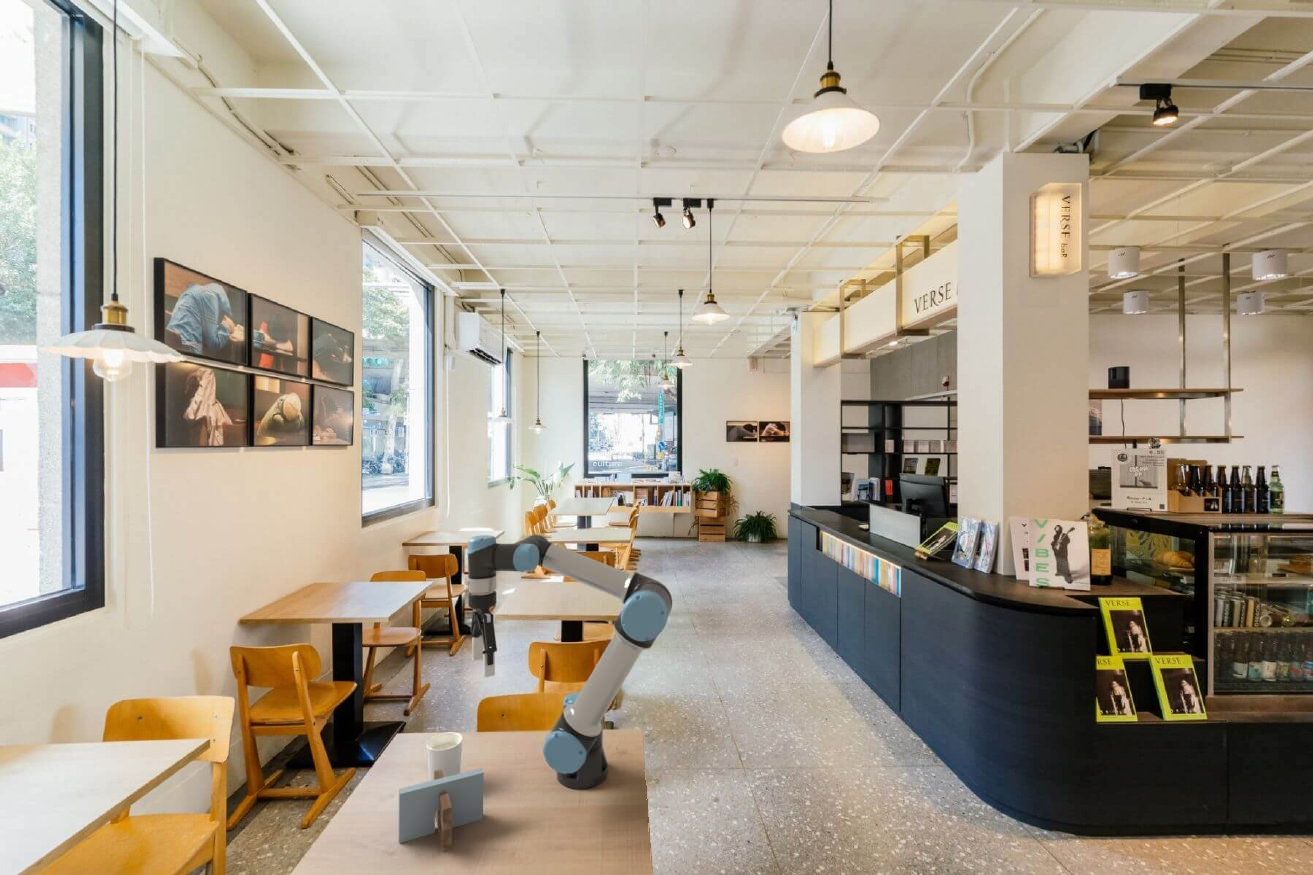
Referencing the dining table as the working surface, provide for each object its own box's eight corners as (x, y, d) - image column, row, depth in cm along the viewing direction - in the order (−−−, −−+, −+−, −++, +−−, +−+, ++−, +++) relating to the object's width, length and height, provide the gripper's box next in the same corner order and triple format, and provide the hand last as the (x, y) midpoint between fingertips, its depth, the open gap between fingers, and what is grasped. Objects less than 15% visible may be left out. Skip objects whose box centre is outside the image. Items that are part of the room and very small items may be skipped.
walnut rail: (441, 806, 153) (442, 768, 153) (451, 848, 137) (451, 807, 137) (433, 808, 152) (434, 770, 152) (442, 851, 136) (442, 809, 136)
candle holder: (450, 795, 158) (450, 751, 158) (418, 790, 160) (419, 747, 160) (468, 774, 168) (469, 734, 168) (438, 770, 170) (439, 730, 170)
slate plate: (481, 813, 151) (481, 767, 151) (483, 818, 148) (483, 772, 148) (398, 837, 141) (398, 788, 141) (399, 843, 139) (399, 793, 139)
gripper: (459, 584, 168) (460, 656, 168) (479, 604, 147) (480, 686, 147) (485, 580, 172) (486, 651, 172) (508, 599, 151) (509, 680, 150)
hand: (483, 667), depth 159 cm, fingers open, 13 cm apart
